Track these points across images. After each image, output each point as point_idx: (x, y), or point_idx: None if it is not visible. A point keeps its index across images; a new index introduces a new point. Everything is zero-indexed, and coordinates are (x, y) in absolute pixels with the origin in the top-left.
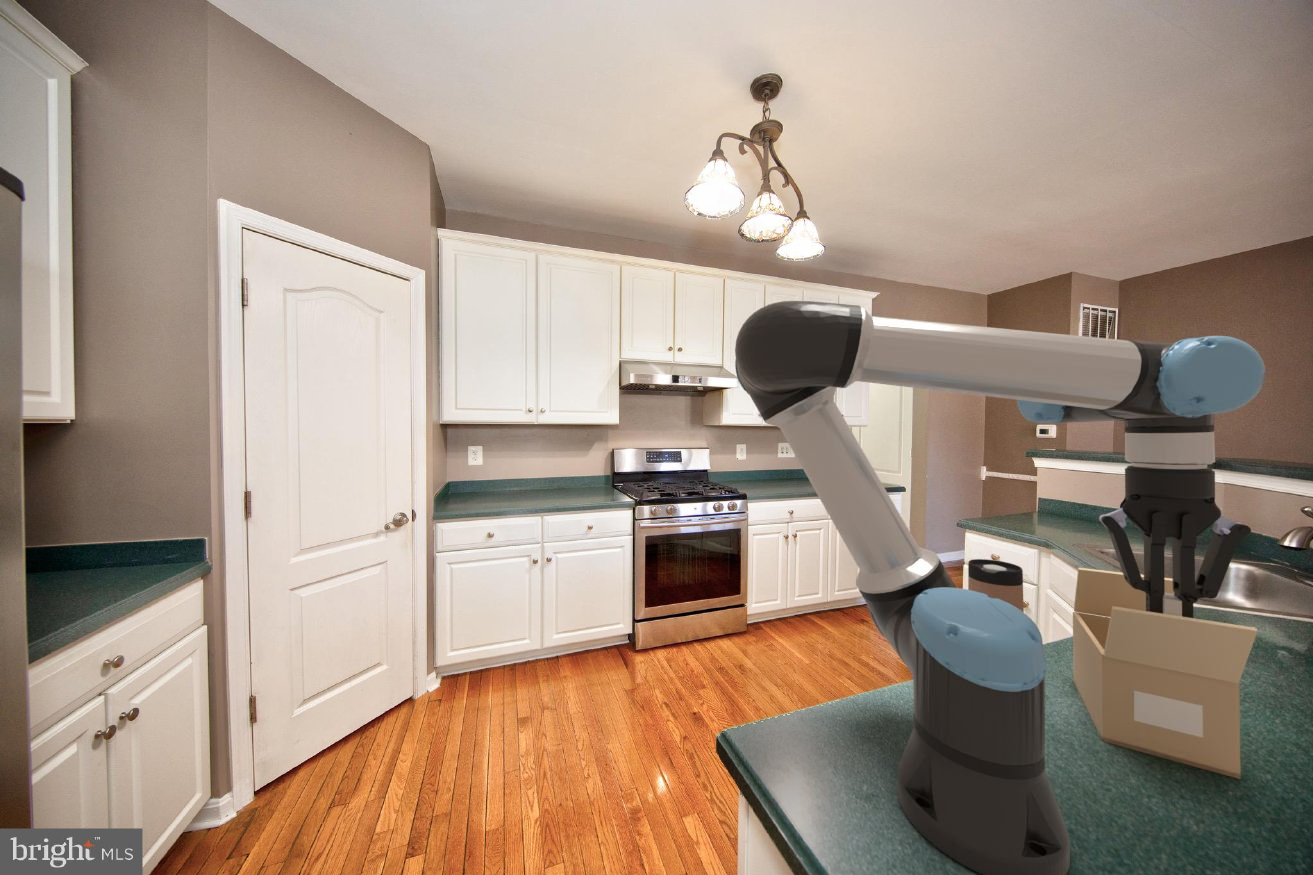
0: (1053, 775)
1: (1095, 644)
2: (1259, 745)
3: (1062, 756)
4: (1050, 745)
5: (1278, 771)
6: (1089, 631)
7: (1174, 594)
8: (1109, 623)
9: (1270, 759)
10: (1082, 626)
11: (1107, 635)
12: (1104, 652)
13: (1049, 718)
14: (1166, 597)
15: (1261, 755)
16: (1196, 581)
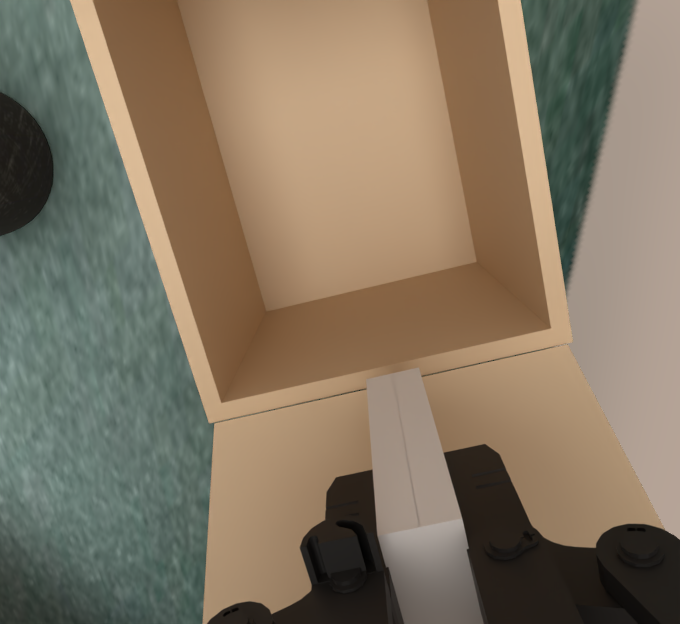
0: (203, 541)
1: (177, 323)
2: (561, 11)
3: (204, 459)
4: (178, 433)
5: (565, 150)
6: (133, 150)
7: (468, 554)
8: (204, 611)
9: (565, 89)
10: (96, 78)
11: (209, 532)
12: (215, 434)
13: (150, 299)
14: (421, 621)
15: (552, 81)
16: (636, 617)
